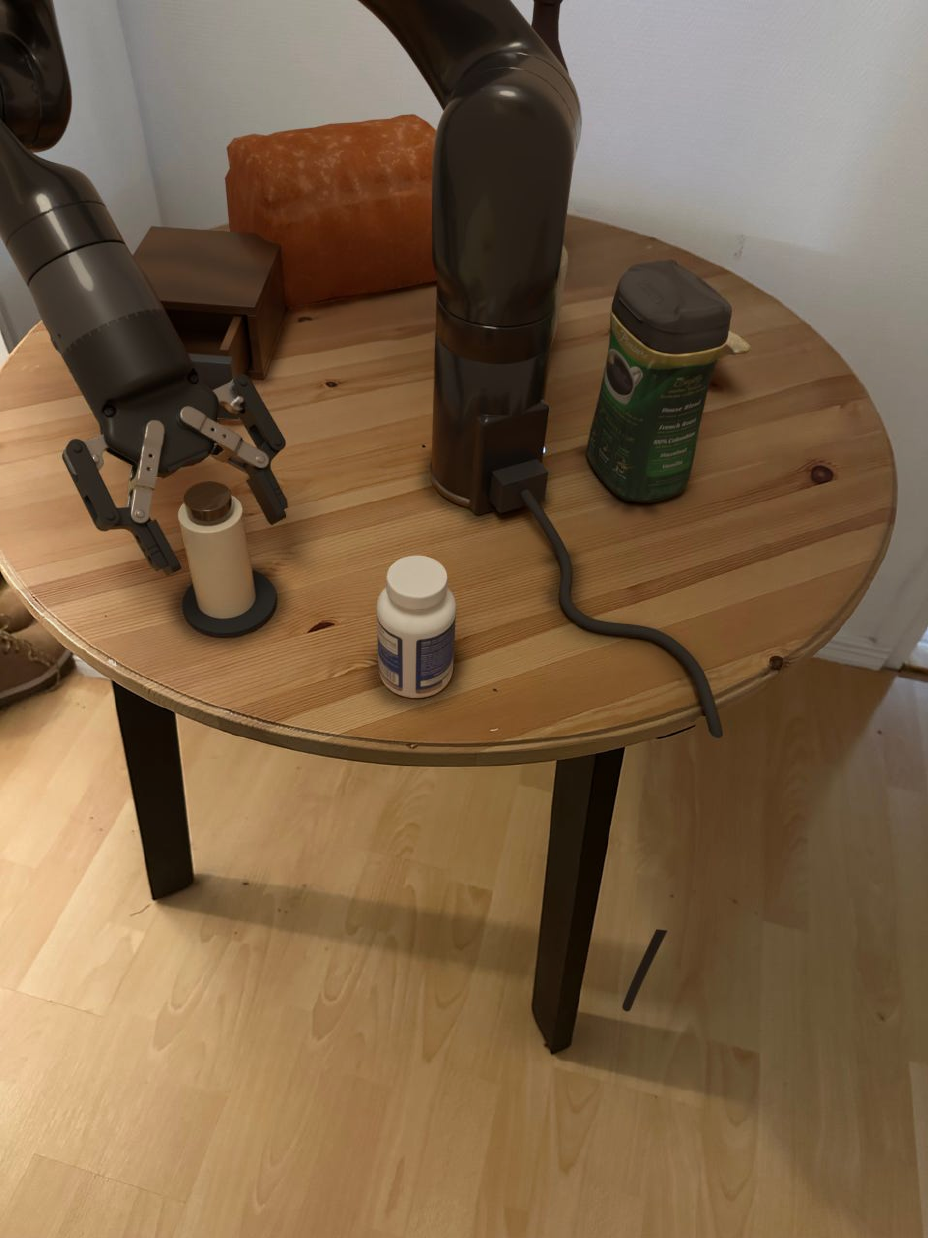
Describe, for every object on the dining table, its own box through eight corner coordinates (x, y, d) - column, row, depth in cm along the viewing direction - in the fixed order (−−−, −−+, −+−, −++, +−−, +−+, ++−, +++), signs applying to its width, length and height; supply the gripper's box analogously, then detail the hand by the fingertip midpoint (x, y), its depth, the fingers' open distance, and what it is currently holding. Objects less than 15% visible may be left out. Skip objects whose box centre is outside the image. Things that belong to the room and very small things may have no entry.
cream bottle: (254, 575, 74) (238, 472, 67) (258, 615, 71) (241, 513, 64) (196, 581, 73) (173, 478, 66) (197, 622, 70) (174, 519, 63)
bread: (475, 278, 109) (483, 143, 99) (271, 319, 101) (256, 176, 90) (414, 217, 120) (415, 88, 109) (224, 249, 111) (205, 113, 101)
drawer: (235, 427, 87) (227, 371, 82) (97, 417, 87) (81, 360, 82) (267, 342, 97) (261, 287, 92) (143, 333, 97) (131, 278, 92)
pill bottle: (456, 648, 71) (462, 551, 64) (448, 704, 67) (453, 609, 60) (384, 640, 71) (382, 543, 64) (372, 696, 67) (369, 600, 60)
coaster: (289, 620, 72) (289, 615, 71) (198, 649, 69) (197, 644, 69) (259, 562, 76) (258, 556, 76) (172, 587, 74) (170, 582, 73)
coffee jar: (700, 496, 84) (757, 302, 71) (621, 515, 82) (665, 318, 69) (647, 434, 90) (690, 244, 77) (572, 450, 88) (603, 257, 75)
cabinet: (263, 380, 94) (255, 306, 88) (124, 370, 94) (106, 296, 88) (290, 305, 104) (284, 235, 98) (164, 296, 104) (150, 225, 98)
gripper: (16, 346, 58) (149, 585, 60) (220, 278, 64) (331, 495, 67) (4, 384, 64) (125, 597, 67) (191, 318, 71) (293, 514, 74)
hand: (228, 546), depth 67 cm, fingers open, 8 cm apart
